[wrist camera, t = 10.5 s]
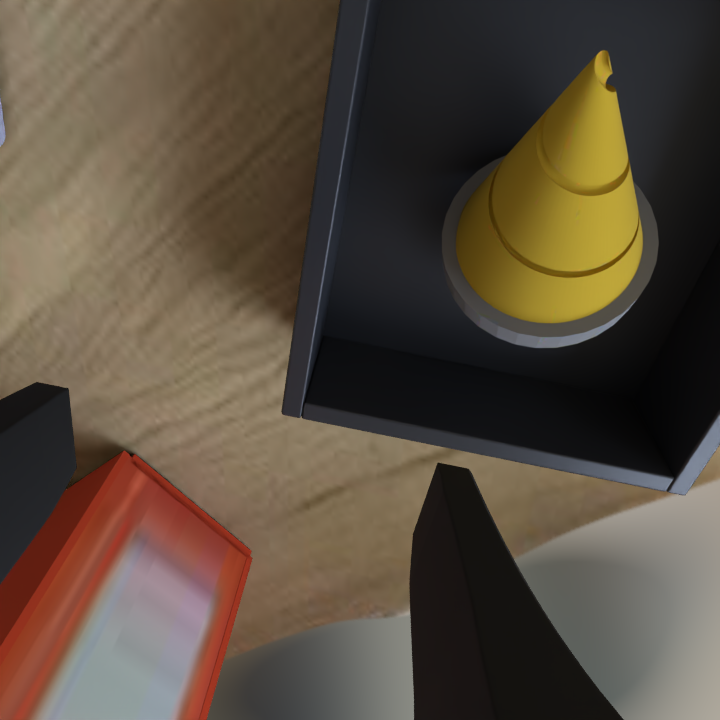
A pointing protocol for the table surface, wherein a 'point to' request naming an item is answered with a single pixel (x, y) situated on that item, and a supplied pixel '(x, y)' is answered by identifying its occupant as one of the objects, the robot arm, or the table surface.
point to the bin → (431, 203)
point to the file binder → (119, 604)
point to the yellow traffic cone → (554, 226)
